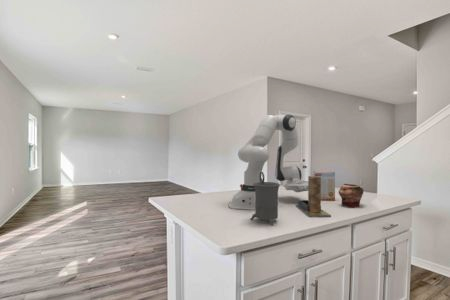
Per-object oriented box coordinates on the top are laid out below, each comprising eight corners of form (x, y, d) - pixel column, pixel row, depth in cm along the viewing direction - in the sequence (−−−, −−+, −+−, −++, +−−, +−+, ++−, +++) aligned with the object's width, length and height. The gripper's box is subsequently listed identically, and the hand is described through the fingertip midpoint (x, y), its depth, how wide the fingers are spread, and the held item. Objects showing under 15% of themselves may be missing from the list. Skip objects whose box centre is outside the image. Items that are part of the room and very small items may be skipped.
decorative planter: (353, 202, 173) (353, 182, 173) (370, 206, 162) (370, 184, 162) (333, 205, 164) (333, 184, 164) (349, 209, 153) (350, 187, 153)
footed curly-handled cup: (286, 225, 121) (287, 174, 121) (258, 227, 118) (258, 175, 118) (272, 215, 140) (272, 170, 139) (247, 216, 137) (247, 171, 137)
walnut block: (311, 212, 141) (312, 177, 141) (308, 209, 147) (308, 176, 147) (320, 212, 141) (320, 177, 141) (316, 209, 147) (316, 176, 147)
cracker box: (332, 199, 183) (332, 171, 183) (335, 201, 177) (335, 171, 177) (312, 198, 185) (313, 170, 184) (315, 200, 179) (315, 171, 178)
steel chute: (309, 217, 135) (309, 209, 135) (295, 206, 160) (295, 200, 160) (331, 217, 136) (331, 209, 136) (313, 206, 161) (313, 200, 161)
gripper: (282, 181, 175) (288, 183, 161) (311, 181, 175) (319, 184, 162) (282, 190, 175) (287, 193, 161) (311, 190, 175) (319, 194, 162)
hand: (303, 189), depth 161 cm, fingers closed
